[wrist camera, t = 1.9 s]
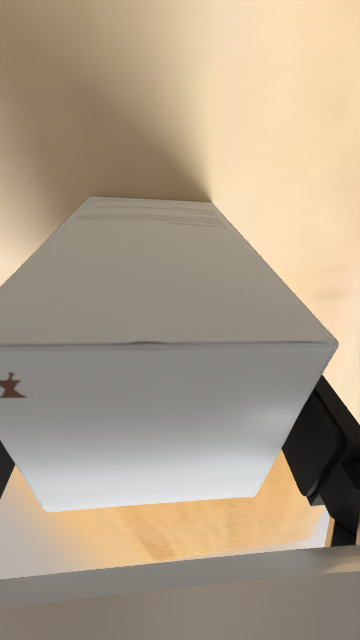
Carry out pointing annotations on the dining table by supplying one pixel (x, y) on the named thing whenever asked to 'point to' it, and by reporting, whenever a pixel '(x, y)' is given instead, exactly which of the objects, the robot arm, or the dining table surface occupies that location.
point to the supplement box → (151, 358)
